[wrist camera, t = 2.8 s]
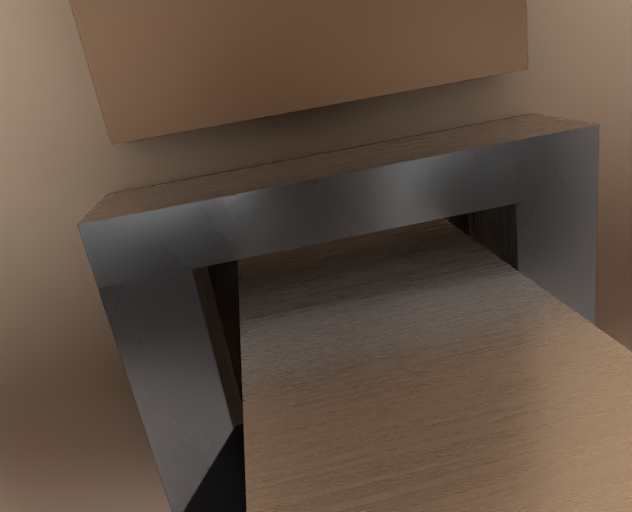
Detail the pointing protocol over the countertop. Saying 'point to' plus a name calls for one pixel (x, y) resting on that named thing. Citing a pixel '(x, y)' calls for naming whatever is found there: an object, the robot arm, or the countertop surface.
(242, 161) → the countertop surface
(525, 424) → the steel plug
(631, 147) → the countertop surface
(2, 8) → the countertop surface
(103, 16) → the walnut pad
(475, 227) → the square metal frame
